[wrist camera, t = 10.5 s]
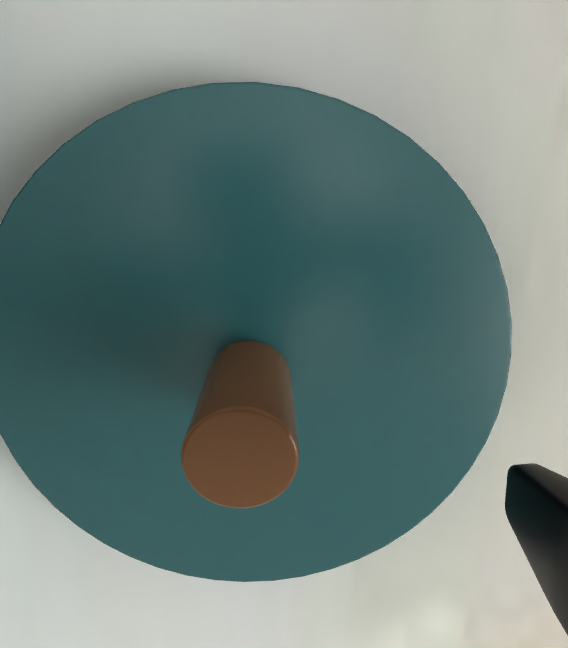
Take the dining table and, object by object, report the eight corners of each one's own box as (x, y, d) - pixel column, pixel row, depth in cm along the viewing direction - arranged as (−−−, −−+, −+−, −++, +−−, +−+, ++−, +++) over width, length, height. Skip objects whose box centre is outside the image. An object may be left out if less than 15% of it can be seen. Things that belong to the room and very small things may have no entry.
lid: (66, 574, 16) (-26, 747, 11) (-74, 118, 11) (-347, 59, 6) (480, 536, 16) (575, 690, 11) (511, 66, 11) (699, -33, 6)
